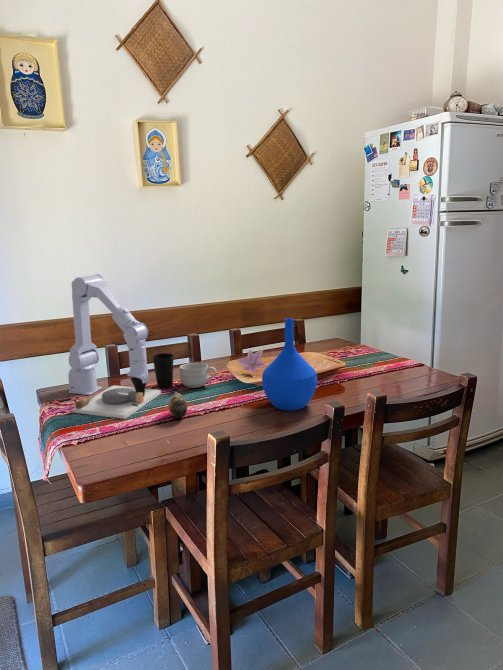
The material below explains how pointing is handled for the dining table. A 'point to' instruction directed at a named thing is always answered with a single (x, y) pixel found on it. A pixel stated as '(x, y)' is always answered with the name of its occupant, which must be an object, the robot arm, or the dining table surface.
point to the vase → (289, 376)
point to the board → (116, 405)
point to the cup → (164, 370)
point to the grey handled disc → (121, 396)
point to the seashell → (177, 405)
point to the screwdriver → (83, 402)
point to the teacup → (195, 374)
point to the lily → (252, 361)
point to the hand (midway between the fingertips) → (140, 396)
